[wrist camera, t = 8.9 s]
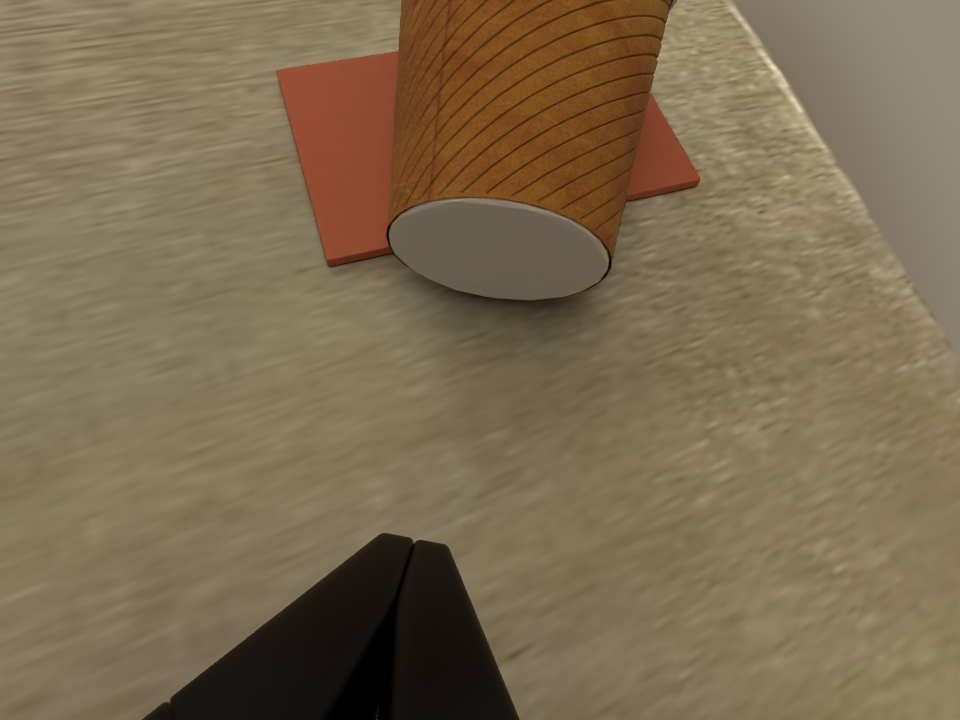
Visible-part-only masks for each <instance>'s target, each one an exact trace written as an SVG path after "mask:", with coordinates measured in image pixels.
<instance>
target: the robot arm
mask: <svg viewBox="0 0 960 720" xmlns="http://www.w3.org/2000/svg"><path fill="white" fill-rule="evenodd" d="M377 715H378V716H377ZM376 718H377V720H519V717H518V715H517V712H516V710H515V707H514V705H513V703H512V700H511V698H510V695H509V693H508V690H507V688H506V686H505V683H504V681H503V678H502V676H501V673H500V671H499V669H498V666H497V664H496V661H495V659H494V656H493V654H492V651H491V649H490V647H489V644H488V642H487V639H486V637H485V634H484V632H483V630H482V627H481V625H480V622H479V620H478V617H477V615H476V613H475V610H474V608H473V605H472V603H471V600H470V598H469V596H468V593H467V591H466V588H465V586H464V583H463V581H462V579H461V576H460V574H459V571H458V569H457V566H456V564H455V561H454V559H453V557H452V554H451V552H450V550H449V548H448V546H446V545H445V544H440V543H435V542H430V541H425V540H418V541H416V542H415V543H414V542H413V540H412V539H411V538H409V537H404V536H399V535H394V534H389V533H382V534H380V535H378V536H377V537H376V538H374V539H373V540H372V541H370V542H369V543H368V544H367V545H365V546H364V547H363V548H361V549H360V550H359V551H358V552H356V553H355V554H354V555H353V556H351V557H350V558H349V559H347V560H346V561H345V562H344V563H342V564H341V565H340V566H338V567H337V568H336V569H335V570H333V571H332V572H331V573H329V574H328V575H327V576H326V577H324V578H323V579H322V580H320V581H319V582H318V583H317V584H315V585H314V586H313V587H312V588H310V589H309V590H308V591H306V592H305V593H304V594H303V595H301V596H300V597H299V598H297V599H296V600H295V601H294V602H292V603H291V604H290V605H288V606H287V607H286V608H285V609H283V610H282V611H281V612H280V613H278V614H277V615H276V616H274V617H273V618H272V619H271V620H269V621H268V622H267V623H265V624H264V625H263V626H262V627H260V628H259V629H258V630H256V631H255V632H254V633H253V634H251V635H250V636H249V637H247V638H246V639H245V640H244V641H242V642H241V643H240V644H239V645H237V646H236V647H235V648H233V649H232V650H231V651H230V652H228V653H227V654H226V655H224V656H223V657H222V658H221V659H219V660H218V661H217V662H215V663H214V664H213V665H212V666H210V667H209V668H208V669H207V670H205V671H204V672H203V673H201V674H200V675H199V676H198V677H196V678H195V679H194V680H192V681H191V682H190V683H189V684H187V685H186V686H185V687H183V688H182V689H181V690H180V691H178V692H177V693H176V694H174V695H173V696H172V697H171V699H170V704H169V703H167V702H165V703H162V704H161V705H160V706H159V707H157V708H156V709H155V710H153V711H152V712H151V713H150V714H148V715H147V716H146V717H144V718H143V719H142V720H376Z"/></svg>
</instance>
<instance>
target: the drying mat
mask: <svg viewBox="0 0 960 720" xmlns="http://www.w3.org/2000/svg"><path fill="white" fill-rule="evenodd" d="M397 71H398V51H397V52H391V53H384V54H378V55H371V56H365V57H358V58H352V59H345V60H339V61H332V62H326V63H319V64H313V65H306V66H300V67H293V68H287V69H280V70H277V71H276V72H277V76H278V80H279V84H280V88H281V91H282V95H283V99H284V103H285V106H286V110H287V114H288V118H289V122H290V125H291V129H292V133H293V137H294V140H295V144H296V148H297V152H298V155H299V159H300V163H301V167H302V170H303V174H304V178H305V182H306V186H307V189H308V193H309V197H310V201H311V204H312V208H313V212H314V216H315V219H316V223H317V227H318V231H319V234H320V238H321V242H322V246H323V249H324V253H325V257H326V261H327V265H328V266H334V265H339V264H343V263H348V262H352V261H357V260H361V259H366V258H371V257H375V256H380V255H384V254H389V253H393V252H392V250H391V249H390V247H389V245H388V242H387V238H386V232H387V223H388V207H389V194H390V182H391V163H392V146H393V129H394V109H395V97H396V85H397ZM648 92H649V95H650V97H649V101H648V104H647V108H646V109H645V110H646V114H645V118H644V122H643V126H642V127H641V128H642V132H641V136H640V139H639V143H638V145H637V148H638V150H637V153H636V157H635V161H634V166H633V170H632V174H631V178H630V182H629V183H630V184H629V188H628V192H627V196H626V200H625V202H626V201H630V200H635V199H639V198H644V197H649V196H653V195H658V194H662V193H667V192H671V191H676V190H680V189H685V188H690V187H694V186H697V185H698V183H699V181H700V177H699V175H698V174H697V172H696V170H695V168H694V167H693V165H692V163H691V161H690V160H689V158H688V156H687V155H686V153H685V151H684V149H683V148H682V146H681V144H680V143H679V141H678V139H677V137H676V136H675V134H674V132H673V131H672V129H671V127H670V125H669V124H668V122H667V120H666V118H665V117H664V115H663V113H662V112H661V110H660V108H659V106H658V105H657V103H656V101H655V100H654V98H653V96H652V94H651V93H650V91H648Z"/></svg>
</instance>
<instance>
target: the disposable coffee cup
mask: <svg viewBox="0 0 960 720" xmlns="http://www.w3.org/2000/svg"><path fill="white" fill-rule="evenodd" d="M676 1H677V0H402V3H401V19H400V35H399V51H398V71H397V85H396V97H395V109H394V129H393V146H392V163H391V182H390V194H389V207H388V223H387V232H386V238H387V242H388V245H389V247H390V249H391V250H392V252H393V253H394V255H395V256H396V257H397V258H398V259H399V260H400V261H401V262H402V263H403V264H404V265H406V266H407V267H409V268H410V269H412V270H413V271H415V272H417V273H418V274H420V275H422V276H424V277H426V278H427V279H430V280H432V281H434V282H437V283H439V284H442V285H444V286H447V287H449V288H452V289H454V290H458V291H463V292H467V293H471V294H476V295H480V296H484V297H492V298H502V299H516V300H538V299H550V298H557V297H565V296H568V295H573V294H576V293H579V292H582V291H585V290H587V289H589V288H591V287H593V286H595V285H597V284H598V283H599V282H600V281H602V280H603V279H604V278H605V277H606V276H607V274H608V272H609V270H610V268H611V264H612V258H613V253H614V249H615V245H616V240H617V236H618V232H619V227H620V223H621V218H622V214H623V210H624V206H625V200H626V196H627V192H628V188H629V184H630V183H629V182H630V178H631V174H632V170H633V166H634V161H635V157H636V153H637V150H638V148H637V145H638V143H639V139H640V136H641V132H642V128H641V127H642V126H643V122H644V118H645V114H646V110H645V109H646V108H647V104H648V101H649V97H650V95H649V92H648V91H650V90H651V86H652V82H653V78H654V76H653V75H652V74H654V73H655V69H656V66H657V62H658V61H657V59H656V58H657V57H658V56H659V52H660V48H661V41H662V38H663V34H664V30H665V23H666V21H667V18H668V14H669V11H670V10H671V8H672V7H673V6H674V4H675V3H676Z"/></svg>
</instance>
